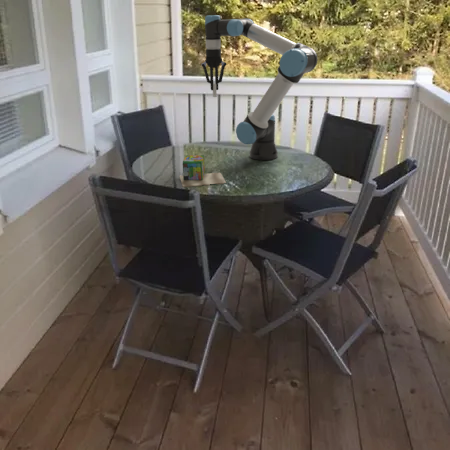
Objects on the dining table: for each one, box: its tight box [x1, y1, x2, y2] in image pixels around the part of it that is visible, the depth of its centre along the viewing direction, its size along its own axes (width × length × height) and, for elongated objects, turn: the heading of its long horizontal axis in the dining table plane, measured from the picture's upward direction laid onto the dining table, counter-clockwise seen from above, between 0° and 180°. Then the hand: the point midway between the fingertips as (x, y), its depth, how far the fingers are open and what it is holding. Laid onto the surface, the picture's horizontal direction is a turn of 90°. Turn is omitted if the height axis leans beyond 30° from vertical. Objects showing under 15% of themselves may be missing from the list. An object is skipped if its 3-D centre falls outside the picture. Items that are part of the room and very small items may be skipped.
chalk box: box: [182, 154, 206, 180], centre depth 240 cm, size 9×9×15 cm
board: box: [179, 172, 227, 188], centre depth 240 cm, size 20×16×1 cm
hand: (214, 96), depth 264 cm, fingers closed
